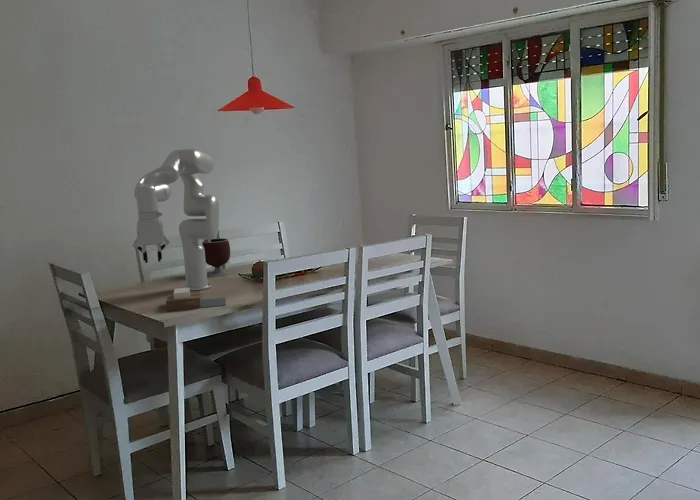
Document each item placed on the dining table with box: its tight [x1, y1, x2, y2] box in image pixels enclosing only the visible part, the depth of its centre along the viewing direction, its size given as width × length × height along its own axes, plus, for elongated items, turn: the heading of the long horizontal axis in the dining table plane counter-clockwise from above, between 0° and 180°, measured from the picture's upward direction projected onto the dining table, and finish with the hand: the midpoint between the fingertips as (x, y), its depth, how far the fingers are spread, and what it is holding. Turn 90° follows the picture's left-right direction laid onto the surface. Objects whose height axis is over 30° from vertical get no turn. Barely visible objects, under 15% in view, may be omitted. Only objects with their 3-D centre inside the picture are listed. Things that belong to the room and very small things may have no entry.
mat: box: [200, 297, 227, 309], centre depth 280 cm, size 14×10×1 cm
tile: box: [173, 287, 191, 299], centre depth 277 cm, size 9×6×2 cm, turn 11°
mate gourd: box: [201, 237, 231, 277], centre depth 343 cm, size 16×14×20 cm
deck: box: [165, 290, 202, 312], centre depth 277 cm, size 14×13×4 cm
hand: (153, 261), depth 273 cm, fingers open, 4 cm apart
